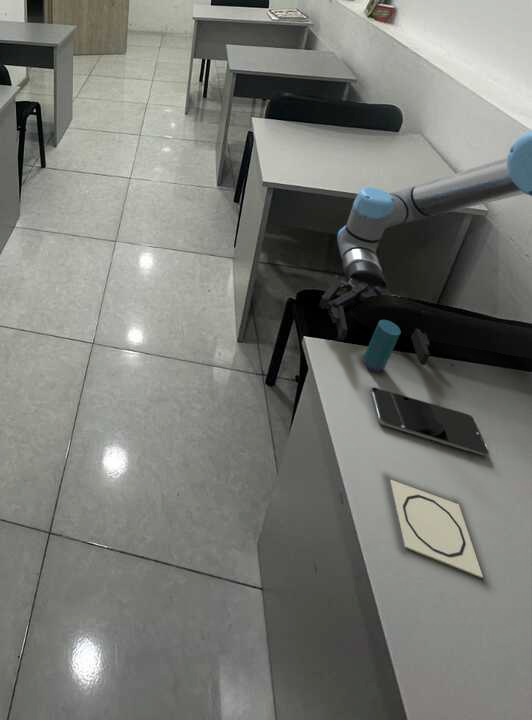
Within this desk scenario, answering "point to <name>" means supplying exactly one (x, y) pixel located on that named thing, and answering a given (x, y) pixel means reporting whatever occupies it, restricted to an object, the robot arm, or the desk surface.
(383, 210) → the robot arm
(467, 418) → the smartphone
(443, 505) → the drawing sheet
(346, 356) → the desk surface
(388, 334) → the teal cylinder
